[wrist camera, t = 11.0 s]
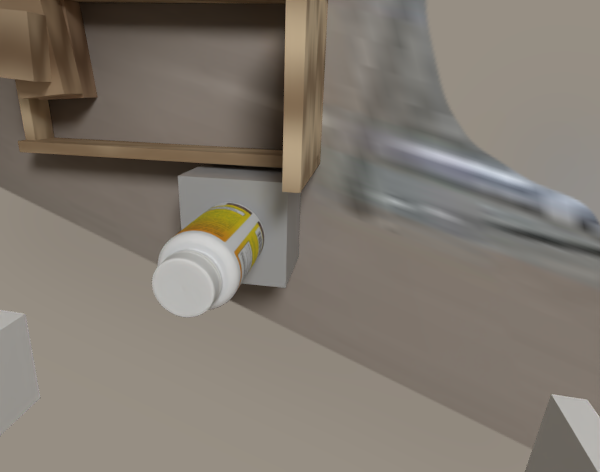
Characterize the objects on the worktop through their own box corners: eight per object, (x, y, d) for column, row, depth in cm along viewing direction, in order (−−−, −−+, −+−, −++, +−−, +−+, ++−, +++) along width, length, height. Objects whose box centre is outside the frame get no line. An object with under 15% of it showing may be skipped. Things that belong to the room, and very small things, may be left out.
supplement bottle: (188, 221, 35) (120, 272, 25) (241, 187, 33) (189, 228, 24) (227, 275, 36) (175, 343, 26) (279, 245, 34) (245, 306, 25)
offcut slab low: (37, 7, 38) (16, 2, 36) (82, 3, 38) (62, -3, 35) (57, 99, 41) (39, 99, 39) (99, 97, 40) (83, 97, 38)
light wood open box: (20, -12, 38) (-128, -54, 26) (328, -10, 34) (308, -60, 23) (46, 147, 42) (-70, 167, 31) (320, 163, 39) (300, 193, 27)
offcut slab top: (16, 5, 36) (-8, -1, 34) (60, -2, 35) (38, -8, 33) (42, 98, 38) (21, 98, 36) (83, 93, 38) (64, 93, 35)
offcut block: (9, 11, 34) (-12, 7, 32) (45, 15, 34) (26, 11, 32) (17, 77, 36) (-3, 76, 34) (51, 81, 35) (33, 81, 33)
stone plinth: (208, 161, 40) (177, 175, 34) (301, 167, 39) (288, 183, 32) (212, 249, 43) (184, 277, 37) (298, 256, 42) (285, 287, 35)
